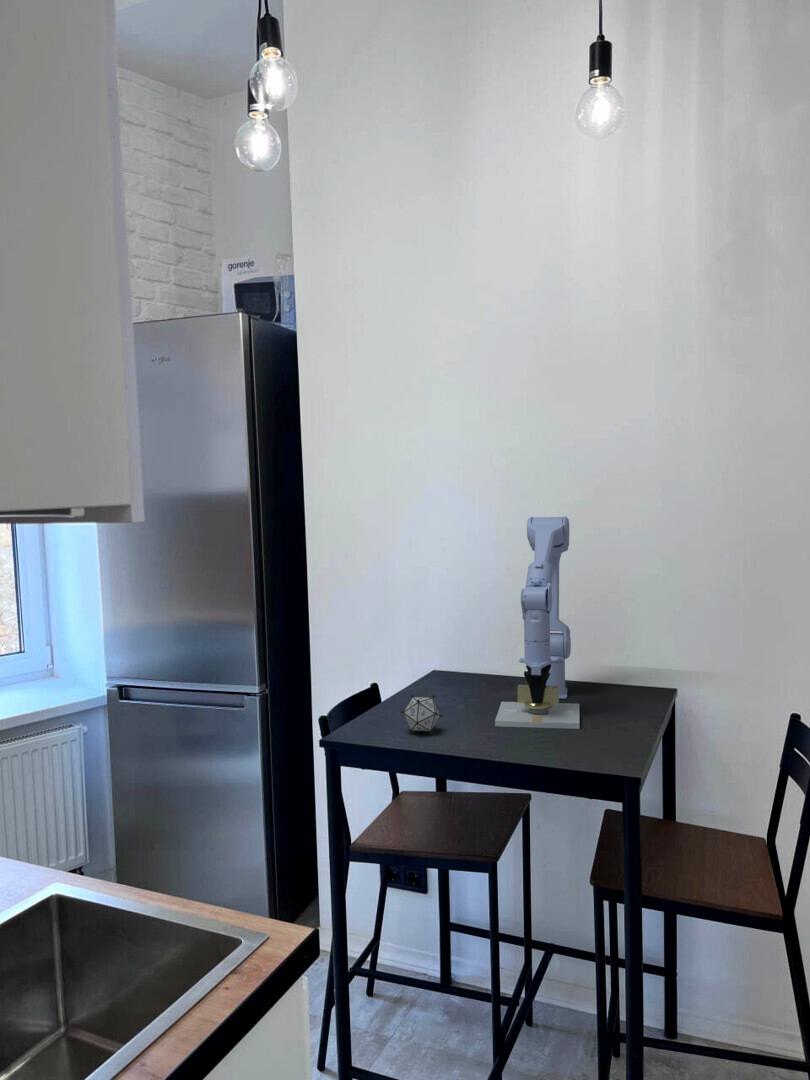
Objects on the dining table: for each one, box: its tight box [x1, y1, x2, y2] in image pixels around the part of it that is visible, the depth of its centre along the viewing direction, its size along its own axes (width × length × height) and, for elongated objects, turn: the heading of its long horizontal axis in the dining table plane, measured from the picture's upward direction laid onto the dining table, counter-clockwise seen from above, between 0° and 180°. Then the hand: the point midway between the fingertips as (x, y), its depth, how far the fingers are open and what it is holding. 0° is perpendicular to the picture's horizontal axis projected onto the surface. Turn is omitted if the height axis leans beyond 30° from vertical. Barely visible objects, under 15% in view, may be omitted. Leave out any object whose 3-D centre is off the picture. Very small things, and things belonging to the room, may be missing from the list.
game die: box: [399, 693, 444, 736], centre depth 180 cm, size 9×8×10 cm
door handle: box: [517, 684, 560, 709], centre depth 189 cm, size 6×9×4 cm
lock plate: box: [494, 701, 581, 730], centre depth 189 cm, size 16×18×2 cm
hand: (538, 699), depth 189 cm, fingers open, 6 cm apart
